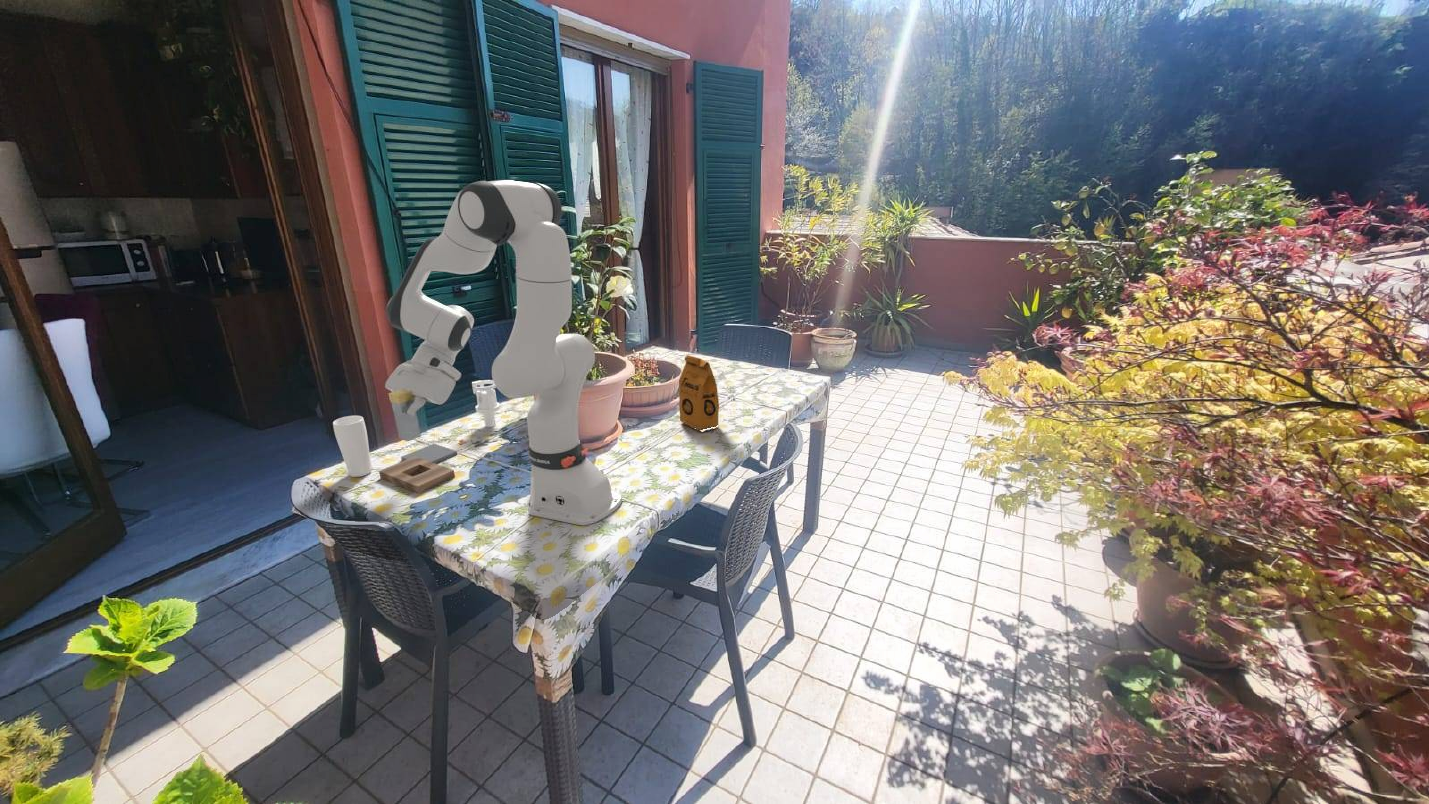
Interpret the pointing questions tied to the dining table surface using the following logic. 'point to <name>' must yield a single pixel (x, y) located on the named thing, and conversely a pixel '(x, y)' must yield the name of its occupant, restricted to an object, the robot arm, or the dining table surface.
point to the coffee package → (698, 394)
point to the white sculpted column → (486, 401)
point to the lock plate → (421, 482)
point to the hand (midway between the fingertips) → (402, 412)
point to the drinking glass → (353, 444)
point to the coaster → (432, 453)
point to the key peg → (404, 415)
